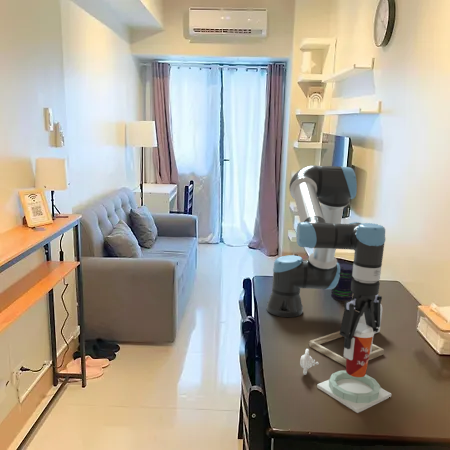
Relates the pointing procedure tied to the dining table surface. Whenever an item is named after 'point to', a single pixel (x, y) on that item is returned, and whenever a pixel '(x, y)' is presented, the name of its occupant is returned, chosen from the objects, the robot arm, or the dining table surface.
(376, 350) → the tray frame
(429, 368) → the dining table surface
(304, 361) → the ring around a ball
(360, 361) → the paper cup
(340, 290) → the storage jar
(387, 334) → the dining table surface
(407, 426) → the dining table surface
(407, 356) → the dining table surface
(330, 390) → the cup holder
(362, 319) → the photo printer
